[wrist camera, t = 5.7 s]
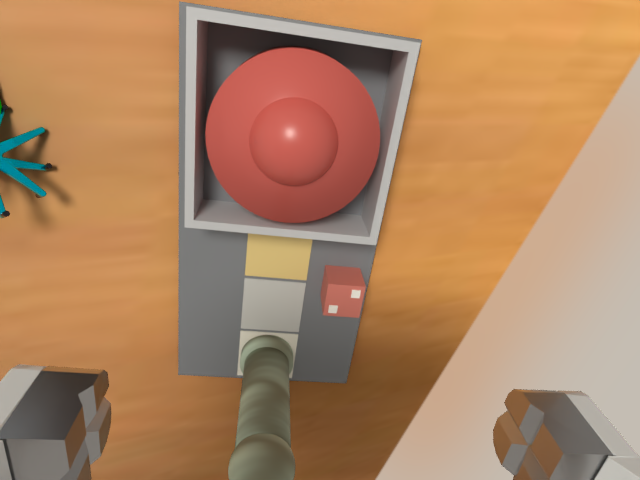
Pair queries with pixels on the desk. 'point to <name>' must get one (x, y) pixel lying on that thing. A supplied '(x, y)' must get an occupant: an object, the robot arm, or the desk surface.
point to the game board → (267, 235)
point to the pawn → (264, 412)
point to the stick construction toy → (19, 162)
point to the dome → (292, 135)
